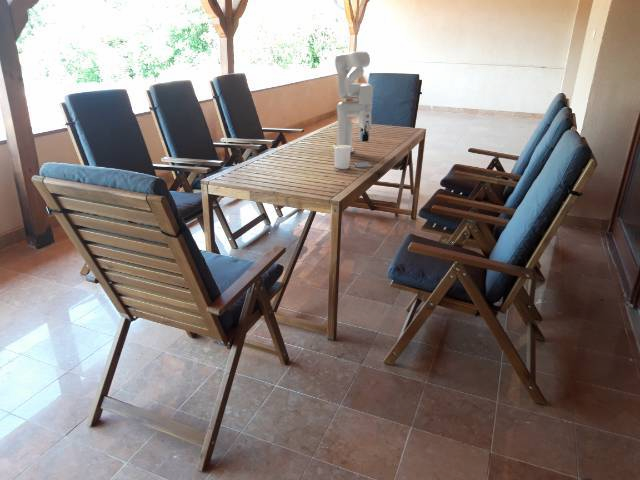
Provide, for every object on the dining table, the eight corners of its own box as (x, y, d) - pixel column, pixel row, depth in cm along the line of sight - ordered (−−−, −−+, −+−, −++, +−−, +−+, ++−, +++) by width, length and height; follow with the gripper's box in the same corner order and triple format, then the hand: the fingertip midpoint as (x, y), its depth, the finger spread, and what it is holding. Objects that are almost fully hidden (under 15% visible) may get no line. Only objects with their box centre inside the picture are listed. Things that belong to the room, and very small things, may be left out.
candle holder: (336, 169, 270) (336, 148, 266) (331, 165, 279) (331, 145, 274) (352, 168, 273) (353, 147, 268) (347, 164, 281) (347, 144, 277)
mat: (353, 163, 284) (353, 162, 283) (367, 163, 285) (367, 162, 285) (357, 167, 275) (357, 166, 274) (372, 167, 276) (372, 166, 276)
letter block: (366, 139, 277) (367, 131, 275) (369, 141, 273) (369, 132, 271) (358, 140, 276) (358, 131, 274) (360, 141, 272) (360, 132, 270)
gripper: (376, 109, 260) (374, 143, 267) (367, 105, 276) (365, 137, 283) (363, 109, 259) (361, 143, 266) (354, 105, 274) (353, 137, 281)
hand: (363, 140), depth 274 cm, fingers closed on letter block, 5 cm apart
